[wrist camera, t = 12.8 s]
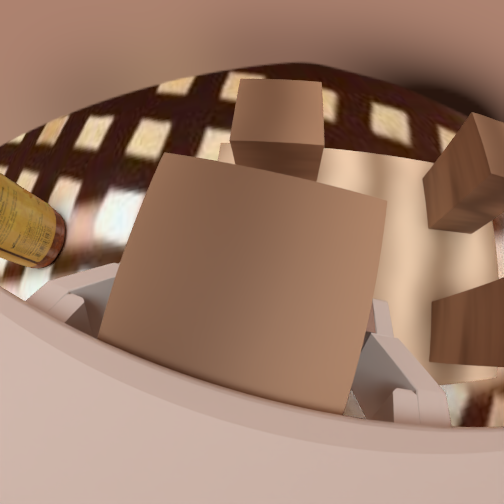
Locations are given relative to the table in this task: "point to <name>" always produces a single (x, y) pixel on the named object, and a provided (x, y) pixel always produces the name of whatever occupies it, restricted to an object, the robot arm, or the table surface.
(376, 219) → the walnut peg
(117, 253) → the table surface
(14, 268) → the table surface
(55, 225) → the sauce bottle
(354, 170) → the board
